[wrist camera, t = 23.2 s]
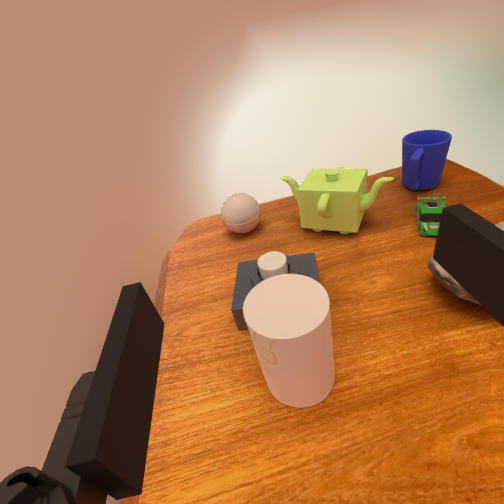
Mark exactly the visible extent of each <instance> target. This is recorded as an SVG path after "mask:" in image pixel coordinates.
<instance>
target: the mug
mask: <svg viewBox="0 0 504 504" xmlns="http://www.w3.org/2000/svg"><path fill="white" fill-rule="evenodd" d="M451 139H452V136H451V134H450V133H448V132H445V131H440V130H424V131H417V132H413V133H410V134H408V135H406V136H405V137H404V138H403V141H402V181H403V184H404V186H406V187H407V188H409V189H410V190H413V191H415V190H428V189H431V188H434V187H435V186H436V185H437V184H438V183H439V181H440V179H441V175H442V171H443V168H444V164H445V160H446V157H447V153H448V150H449V146H450V142H451Z"/></svg>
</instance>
